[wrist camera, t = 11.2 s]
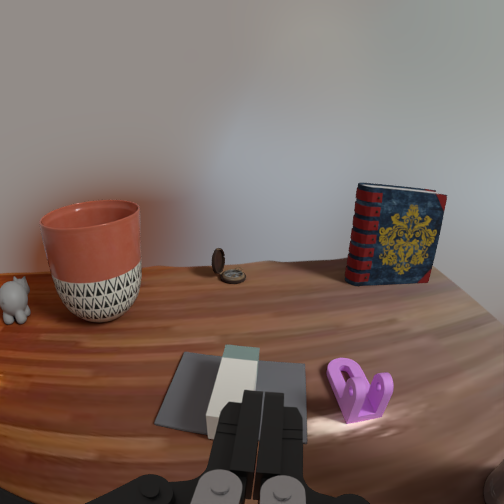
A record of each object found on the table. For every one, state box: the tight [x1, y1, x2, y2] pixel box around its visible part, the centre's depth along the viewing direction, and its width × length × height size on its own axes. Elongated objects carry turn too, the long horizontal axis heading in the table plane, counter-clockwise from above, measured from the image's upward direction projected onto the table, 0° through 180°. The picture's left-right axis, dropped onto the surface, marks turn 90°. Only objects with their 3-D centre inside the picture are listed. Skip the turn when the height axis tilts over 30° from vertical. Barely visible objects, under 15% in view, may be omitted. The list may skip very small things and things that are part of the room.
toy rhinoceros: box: [0, 276, 30, 324], centre depth 55 cm, size 7×12×8 cm, turn 12°
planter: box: [40, 200, 142, 322], centre depth 57 cm, size 20×20×21 cm
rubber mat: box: [154, 352, 307, 444], centre depth 43 cm, size 20×16×1 cm
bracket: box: [327, 358, 393, 424], centre depth 43 cm, size 13×6×7 cm, turn 6°
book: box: [345, 183, 447, 286], centre depth 76 cm, size 25×7×25 cm, turn 95°
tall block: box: [206, 345, 259, 439], centre depth 41 cm, size 5×5×14 cm
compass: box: [212, 248, 246, 284], centre depth 78 cm, size 8×8×7 cm
